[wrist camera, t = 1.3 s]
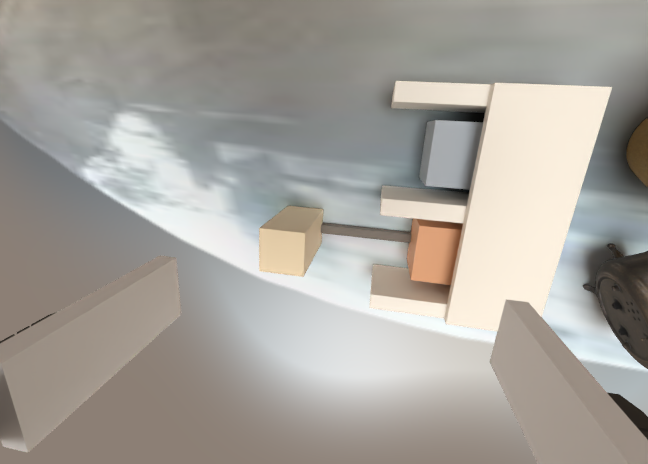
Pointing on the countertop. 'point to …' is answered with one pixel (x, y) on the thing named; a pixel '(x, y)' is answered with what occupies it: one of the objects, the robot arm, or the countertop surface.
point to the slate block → (450, 153)
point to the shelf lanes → (497, 198)
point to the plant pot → (639, 152)
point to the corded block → (307, 227)
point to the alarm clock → (625, 300)
